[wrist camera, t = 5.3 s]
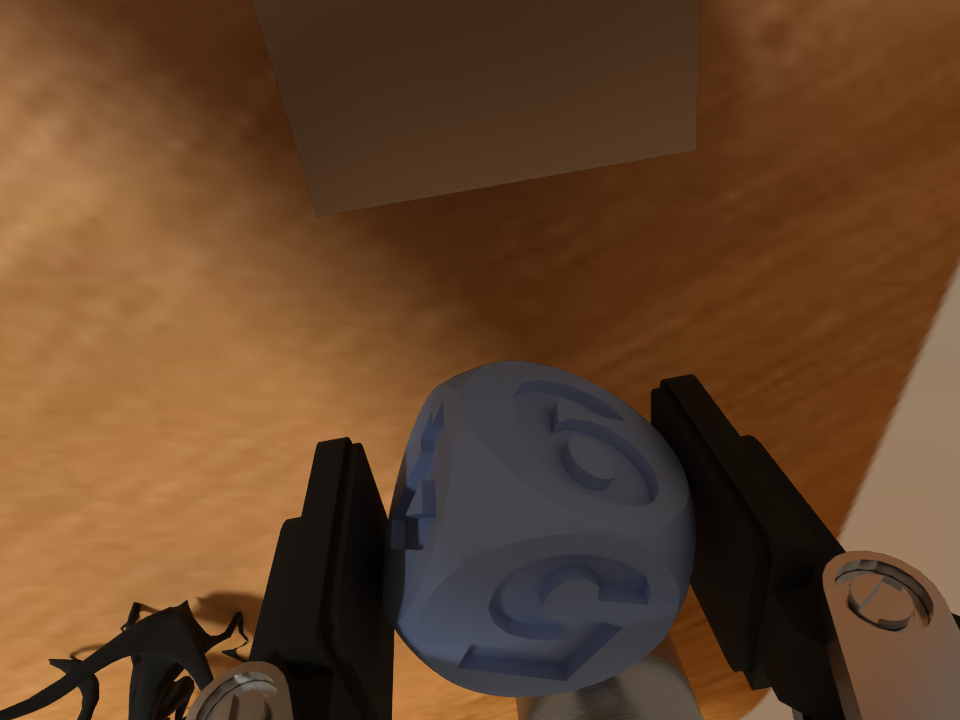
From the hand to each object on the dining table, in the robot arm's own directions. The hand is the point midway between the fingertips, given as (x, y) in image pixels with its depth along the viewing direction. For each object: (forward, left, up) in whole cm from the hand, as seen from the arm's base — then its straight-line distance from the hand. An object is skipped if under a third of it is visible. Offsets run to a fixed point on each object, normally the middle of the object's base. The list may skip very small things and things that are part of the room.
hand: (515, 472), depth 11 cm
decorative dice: (0, 0, -1) cm, 1 cm away
